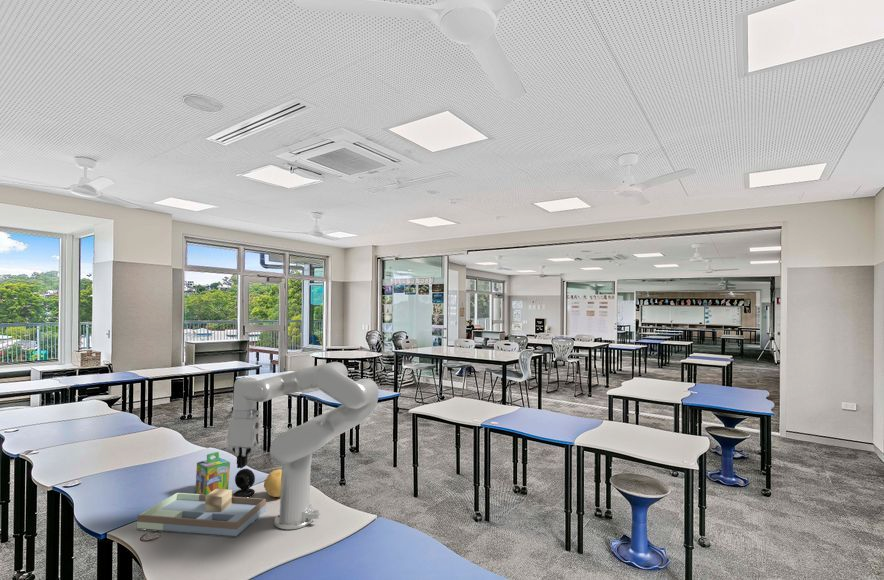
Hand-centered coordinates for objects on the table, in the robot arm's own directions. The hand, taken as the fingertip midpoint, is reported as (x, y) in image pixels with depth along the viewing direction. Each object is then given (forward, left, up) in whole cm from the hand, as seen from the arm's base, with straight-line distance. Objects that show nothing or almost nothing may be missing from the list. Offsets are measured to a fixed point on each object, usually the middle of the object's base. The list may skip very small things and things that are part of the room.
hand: (241, 466), depth 151 cm
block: (+8, 0, -14) cm, 16 cm away
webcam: (+8, -16, -17) cm, 25 cm away
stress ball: (-5, -17, -17) cm, 25 cm away
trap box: (+10, +5, -17) cm, 20 cm away
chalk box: (+22, -17, -17) cm, 33 cm away
